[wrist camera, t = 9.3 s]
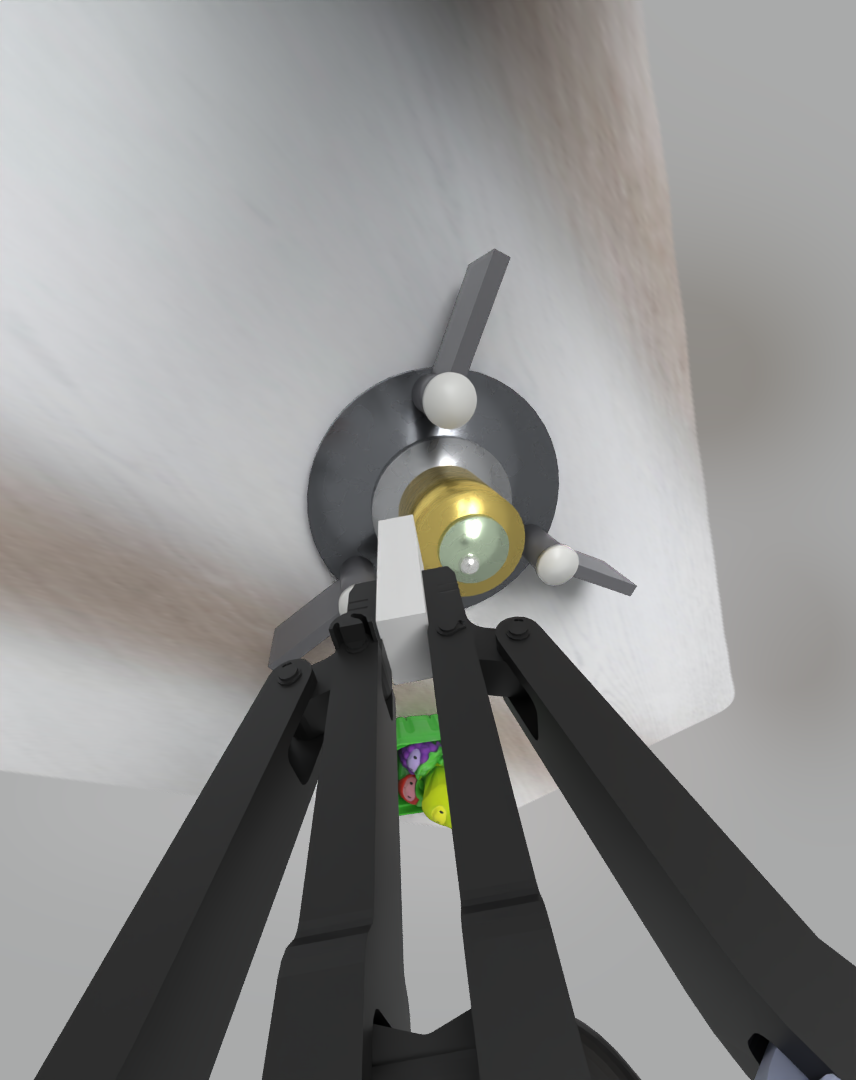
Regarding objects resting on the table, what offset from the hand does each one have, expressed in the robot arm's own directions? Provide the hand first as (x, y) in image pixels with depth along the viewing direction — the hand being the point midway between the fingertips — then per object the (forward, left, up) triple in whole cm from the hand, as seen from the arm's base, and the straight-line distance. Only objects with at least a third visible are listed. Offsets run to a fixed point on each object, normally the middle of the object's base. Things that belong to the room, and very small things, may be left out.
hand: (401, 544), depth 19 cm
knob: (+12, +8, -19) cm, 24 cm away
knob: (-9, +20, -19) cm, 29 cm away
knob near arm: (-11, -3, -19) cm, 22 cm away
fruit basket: (+18, +32, -21) cm, 42 cm away
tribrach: (-2, +8, -21) cm, 22 cm away
